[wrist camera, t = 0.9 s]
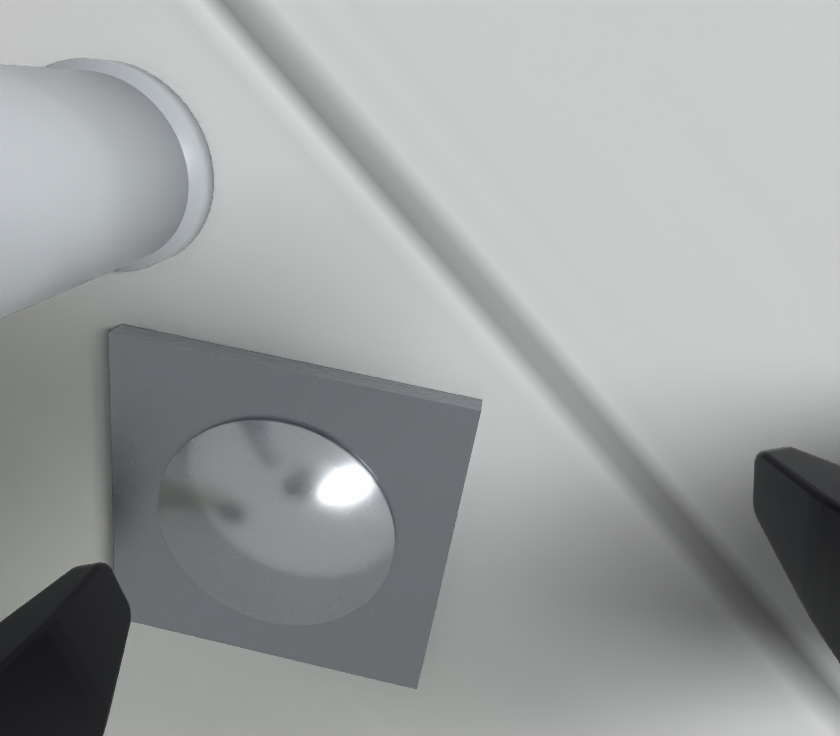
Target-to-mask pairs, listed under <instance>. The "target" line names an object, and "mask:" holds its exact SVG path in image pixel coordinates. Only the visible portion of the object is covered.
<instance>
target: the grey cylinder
mask: <svg viewBox="0 0 840 736" xmlns="http://www.w3.org/2000/svg"><path fill="white" fill-rule="evenodd" d="M213 190H214V172H213V165H212V159H211V155H210V151H209V147H208V144H207V142H206V139H205V136H204V134H203V131H202V130H201V128H200V126H199V124H198V122H197V120H196V118H195V117H194V115H193V114H192V112H191V111H190V109H189V108H188V106H187V105H186V104H185V103H184V102H183V101H182V99H181V98H180V97H179V96H178V95H177V94H176V93H175V92H174V91H173V90H172V89H171V88H170V87H169V86H168V85H166V84H165V83H164V82H162V81H161V80H160V79H158V78H157V77H155V76H153V75H152V74H150V73H148V72H146V71H145V70H142V69H140V68H138V67H135V66H133V65H130V64H126V63H122V62H117V61H108V60H98V59H88V58H76V59H67V60H63V61H58V62H56V63H53V64H51V65H48V66H46V67H45V68H44V67H30V66H16V65H1V64H0V318H2V317H5V316H7V315H9V314H12V313H14V312H16V311H19V310H21V309H23V308H26V307H28V306H31V305H33V304H35V303H38V302H40V301H42V300H45V299H47V298H49V297H52V296H54V295H56V294H59V293H61V292H64V291H66V290H68V289H71V288H73V287H75V286H78V285H80V284H82V283H85V282H87V281H89V280H92V279H94V278H97V277H99V276H101V275H104V274H106V273H108V272H111V271H133V270H139V269H143V268H146V267H150V266H152V265H154V264H156V263H158V262H161V261H163V260H165V259H167V258H169V257H171V256H173V255H176V254H177V253H179V252H180V251H182V250H183V249H185V248H186V247H187V246H188V245H189V244H190V243H191V242H192V241H193V240H194V239H195V237H196V236H197V235H198V234H199V232H200V231H201V229H202V227H203V225H204V223H205V222H206V219H207V216H208V214H209V211H210V207H211V203H212V199H213Z"/></svg>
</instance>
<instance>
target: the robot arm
mask: <svg viewBox="0 0 840 736" xmlns="http://www.w3.org/2000/svg"><path fill="white" fill-rule="evenodd" d="M753 506H754V511H755V514H756V517H757V519H758V521H759V523H760V525H761V527H762V529H763V531H764V533H765V535H766V537H767V539H768V540H769V542H770V544H771V546H772V548H773V550H774V552H775V554H776V556H777V557H778V559H779V561H780V563H781V565H782V567H783V569H784V571H785V573H786V574H787V576H788V578H789V580H790V582H791V584H792V586H793V588H794V590H795V592H796V593H797V595H798V597H799V599H800V601H801V603H802V605H803V606H804V608H805V610H806V612H807V614H808V615H809V617H810V619H811V620H812V622H813V624H814V625H815V627H816V628H817V630H818V631H819V633H820V635H821V636H822V638H823V639H824V641H825V642H826V644H827V645H828V646H829V648H830V649H831V651H832V652H833V654H834V655H835V657H836V658H837V660H838V661H839V663H840V465H837V464H835V463H832V462H830V461H827V460H824V459H822V458H819V457H816V456H814V455H811V454H808V453H806V452H803V451H801V450H798V449H795V448H792V447H782V448H776V449H770V450H764V451H761V452H759V453H758V454H757V455H756V458H755V463H754V487H753ZM130 622H131V610H130V606H129V603H128V601H127V599H126V597H125V595H124V593H123V591H122V589H121V587H120V585H119V583H118V581H117V579H116V577H115V575H114V573H113V571H112V569H111V568H110V566H108V565H107V564H106V563H102V562H99V563H93V564H87V565H81V566H77V567H75V568H73V569H71V570H70V571H68V572H67V573H66V574H64V575H63V576H62V577H60V578H59V579H58V580H56V581H55V582H54V583H52V584H51V585H50V586H48V587H47V588H46V589H44V590H43V591H41V592H40V593H39V594H37V595H36V596H35V597H33V598H32V599H31V600H29V601H28V602H27V603H25V604H24V605H23V606H21V607H20V608H19V609H17V610H16V611H15V612H13V613H12V614H11V615H9V616H8V617H7V618H5V619H4V620H2V621H1V622H0V736H103V734H104V731H105V727H106V724H107V720H108V716H109V712H110V708H111V704H112V700H113V695H114V691H115V687H116V683H117V678H118V674H119V670H120V665H121V661H122V657H123V653H124V648H125V644H126V640H127V635H128V631H129V627H130Z"/></svg>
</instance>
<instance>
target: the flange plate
mask: <svg viewBox="0 0 840 736" xmlns="http://www.w3.org/2000/svg"><path fill="white" fill-rule="evenodd" d="M108 335H109V376H110V417H111V458H112V499H113V540H114V575H115V577H116V579H117V581H118V583H119V585H120V587H121V589H122V591H123V593H124V595H125V597H126V599H127V601H128V603H129V606H130V610H131V621H132V622H136V623H141V624H145V625H149V626H153V627H157V628H162V629H166V630H170V631H174V632H178V633H183V634H187V635H191V636H195V637H199V638H204V639H208V640H212V641H216V642H220V643H225V644H229V645H233V646H237V647H241V648H246V649H250V650H254V651H258V652H262V653H267V654H271V655H275V656H279V657H283V658H288V659H292V660H296V661H300V662H304V663H309V664H313V665H317V666H321V667H325V668H330V669H334V670H338V671H342V672H346V673H351V674H355V675H359V676H363V677H367V678H372V679H376V680H380V681H384V682H388V683H393V684H397V685H401V686H405V687H409V688H414V689H417V685H418V681H419V677H420V672H421V668H422V664H423V659H424V655H425V651H426V646H427V642H428V638H429V634H430V629H431V625H432V621H433V616H434V612H435V608H436V603H437V599H438V595H439V590H440V586H441V582H442V577H443V573H444V569H445V564H446V560H447V556H448V551H449V547H450V543H451V539H452V534H453V530H454V526H455V521H456V517H457V513H458V508H459V504H460V500H461V495H462V491H463V487H464V482H465V478H466V474H467V469H468V465H469V461H470V457H471V452H472V448H473V444H474V439H475V435H476V431H477V426H478V422H479V418H480V413H481V406H482V400H479V399H474V398H470V397H465V396H460V395H455V394H451V393H446V392H441V391H436V390H432V389H427V388H422V387H417V386H413V385H408V384H403V383H399V382H394V381H389V380H384V379H380V378H375V377H370V376H365V375H361V374H356V373H351V372H346V371H342V370H337V369H332V368H327V367H323V366H318V365H313V364H308V363H304V362H299V361H294V360H290V359H285V358H280V357H275V356H271V355H266V354H261V353H256V352H252V351H247V350H242V349H237V348H233V347H228V346H223V345H218V344H214V343H209V342H204V341H200V340H195V339H190V338H185V337H181V336H176V335H171V334H166V333H162V332H157V331H152V330H147V329H143V328H138V327H133V326H128V325H124V324H122V325H120V326H118V327H117V328H115V329H113V330H111V331H110V332H108Z"/></svg>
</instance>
